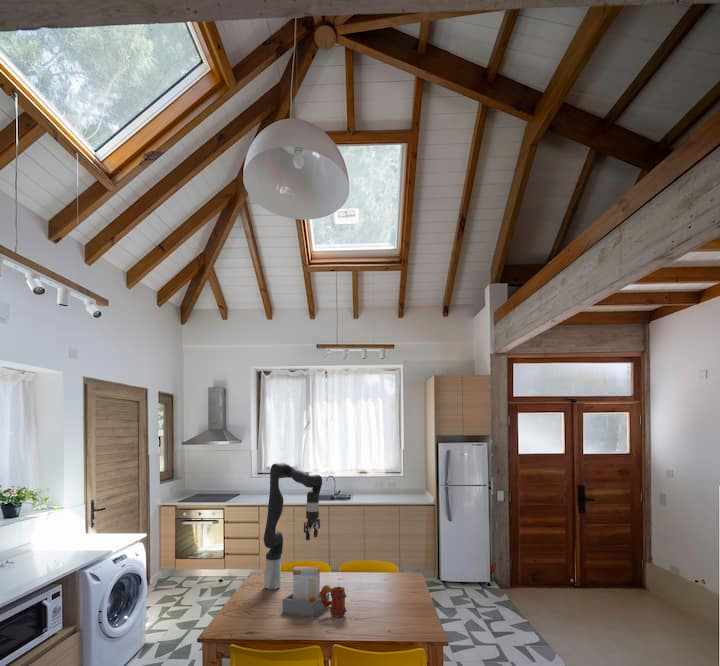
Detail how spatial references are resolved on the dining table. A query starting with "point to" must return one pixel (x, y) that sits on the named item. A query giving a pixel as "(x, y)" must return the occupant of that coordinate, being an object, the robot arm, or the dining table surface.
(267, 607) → the dining table surface
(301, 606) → the bin
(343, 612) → the mug
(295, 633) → the dining table surface
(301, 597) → the cracker box
